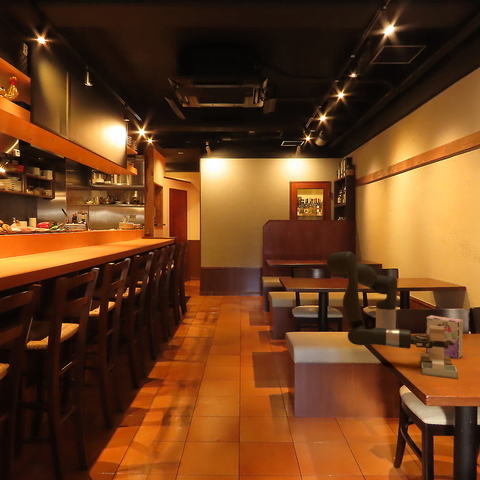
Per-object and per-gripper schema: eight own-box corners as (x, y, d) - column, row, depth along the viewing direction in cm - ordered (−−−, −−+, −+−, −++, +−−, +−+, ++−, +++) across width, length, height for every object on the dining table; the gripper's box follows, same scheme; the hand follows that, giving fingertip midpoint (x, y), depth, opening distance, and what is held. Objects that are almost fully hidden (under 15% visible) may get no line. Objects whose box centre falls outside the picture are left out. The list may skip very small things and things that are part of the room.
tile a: (431, 364, 158) (431, 358, 158) (442, 365, 156) (443, 359, 156) (432, 368, 154) (432, 362, 154) (443, 369, 153) (444, 363, 152)
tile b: (432, 361, 154) (432, 363, 152) (443, 362, 152) (444, 364, 150) (431, 371, 154) (432, 373, 152) (443, 372, 153) (444, 375, 151)
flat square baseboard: (420, 360, 170) (420, 353, 170) (449, 363, 166) (449, 356, 166) (421, 367, 160) (421, 360, 160) (452, 371, 156) (452, 364, 156)
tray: (421, 368, 160) (421, 362, 160) (455, 372, 155) (455, 365, 155) (422, 374, 153) (422, 367, 153) (457, 378, 148) (457, 372, 148)
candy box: (425, 352, 182) (425, 316, 181) (430, 350, 186) (430, 314, 185) (458, 359, 172) (458, 321, 171) (462, 356, 176) (463, 319, 176)
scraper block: (428, 357, 163) (429, 325, 162) (442, 358, 161) (443, 326, 160) (429, 360, 158) (430, 328, 158) (443, 362, 156) (444, 329, 156)
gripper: (398, 333, 158) (446, 337, 152) (398, 325, 171) (442, 329, 165) (397, 352, 158) (445, 357, 152) (398, 342, 171) (442, 347, 165)
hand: (443, 342), depth 158 cm, fingers closed on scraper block, 5 cm apart
